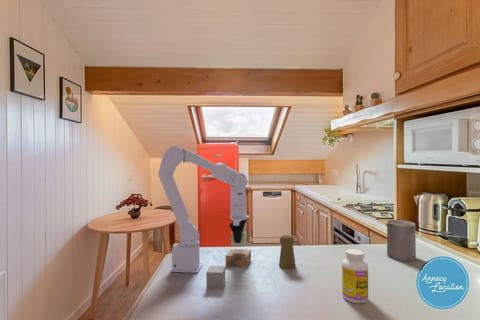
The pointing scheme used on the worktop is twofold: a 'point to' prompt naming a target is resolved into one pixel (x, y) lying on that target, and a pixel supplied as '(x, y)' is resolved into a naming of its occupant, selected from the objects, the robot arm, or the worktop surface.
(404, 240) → the pillar candle
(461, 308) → the worktop surface
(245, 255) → the walnut block
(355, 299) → the supplement bottle
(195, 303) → the worktop surface
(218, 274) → the grey cube
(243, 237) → the green cube
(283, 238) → the cork
